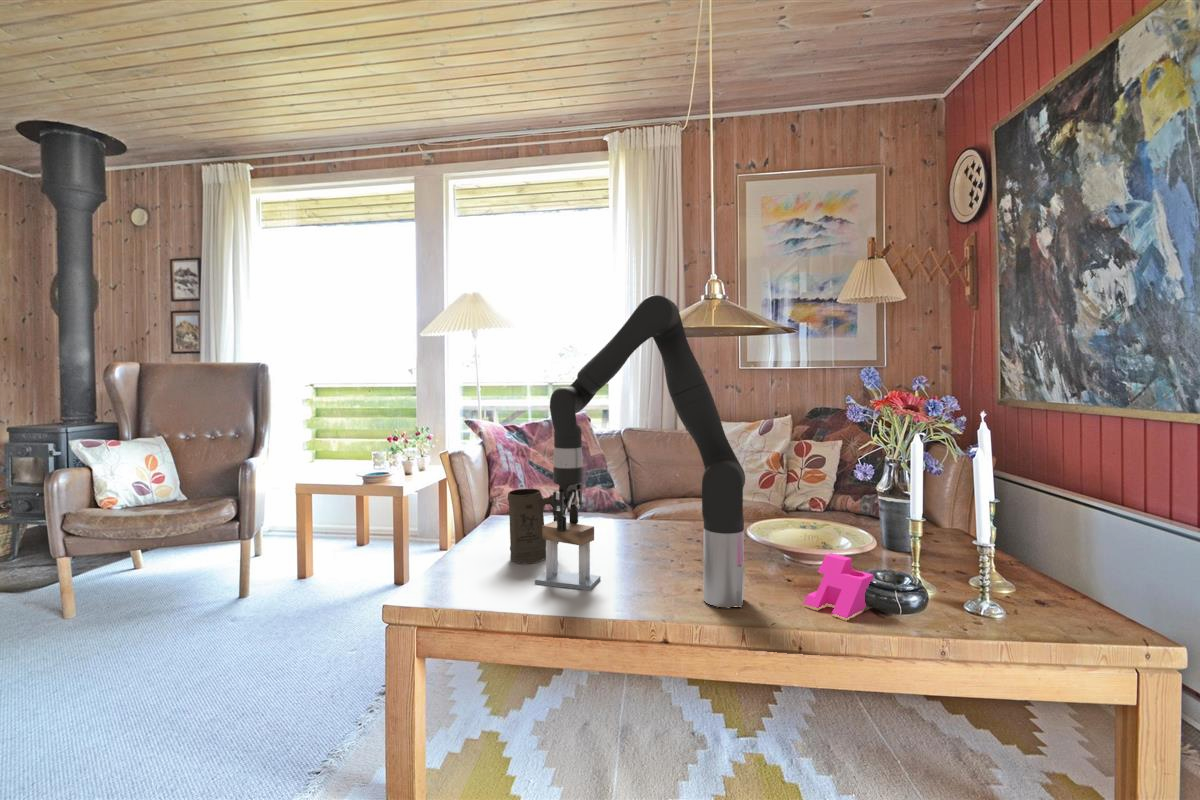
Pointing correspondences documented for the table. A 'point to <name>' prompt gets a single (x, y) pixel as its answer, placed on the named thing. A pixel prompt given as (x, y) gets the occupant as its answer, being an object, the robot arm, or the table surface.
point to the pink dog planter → (840, 586)
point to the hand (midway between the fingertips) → (567, 527)
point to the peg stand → (567, 578)
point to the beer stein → (527, 525)
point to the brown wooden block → (568, 533)
